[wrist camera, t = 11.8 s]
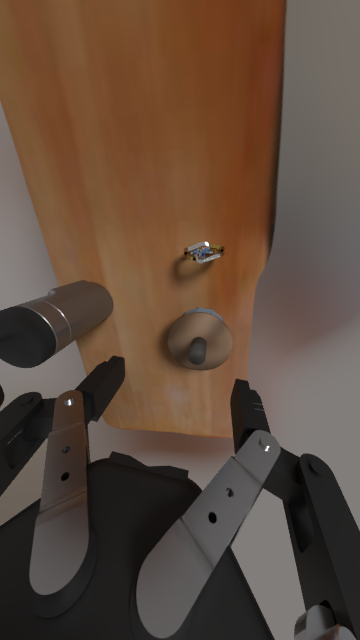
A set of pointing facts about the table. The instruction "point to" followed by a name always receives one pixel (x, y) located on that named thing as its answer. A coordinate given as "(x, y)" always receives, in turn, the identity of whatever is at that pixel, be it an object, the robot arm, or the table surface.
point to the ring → (203, 252)
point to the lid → (200, 341)
